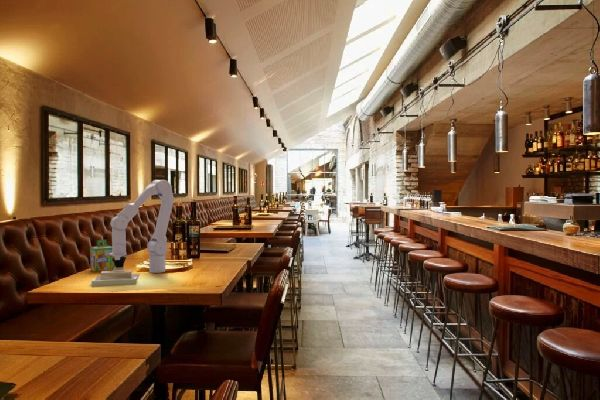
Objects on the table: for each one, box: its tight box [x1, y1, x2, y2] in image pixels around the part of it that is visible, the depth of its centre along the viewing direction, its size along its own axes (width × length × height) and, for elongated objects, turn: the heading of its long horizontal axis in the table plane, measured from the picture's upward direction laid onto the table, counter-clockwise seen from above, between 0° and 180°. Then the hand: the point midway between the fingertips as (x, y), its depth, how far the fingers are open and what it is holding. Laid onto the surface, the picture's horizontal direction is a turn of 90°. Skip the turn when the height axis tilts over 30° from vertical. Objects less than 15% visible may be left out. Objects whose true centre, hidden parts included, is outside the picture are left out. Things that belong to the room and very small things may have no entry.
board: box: [89, 273, 141, 287], centre depth 203 cm, size 22×18×1 cm
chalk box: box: [89, 239, 115, 272], centre depth 229 cm, size 9×9×15 cm
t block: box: [99, 266, 133, 280], centre depth 204 cm, size 12×12×4 cm
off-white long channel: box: [91, 277, 138, 287], centre depth 195 cm, size 5×17×2 cm, turn 105°
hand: (119, 273), depth 211 cm, fingers closed
